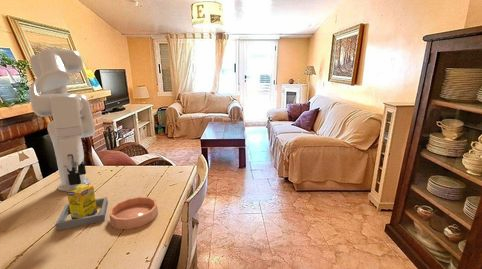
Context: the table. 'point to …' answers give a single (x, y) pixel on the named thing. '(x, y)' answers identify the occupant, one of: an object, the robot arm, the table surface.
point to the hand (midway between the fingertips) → (78, 179)
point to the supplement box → (82, 201)
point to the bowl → (133, 212)
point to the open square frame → (82, 221)
